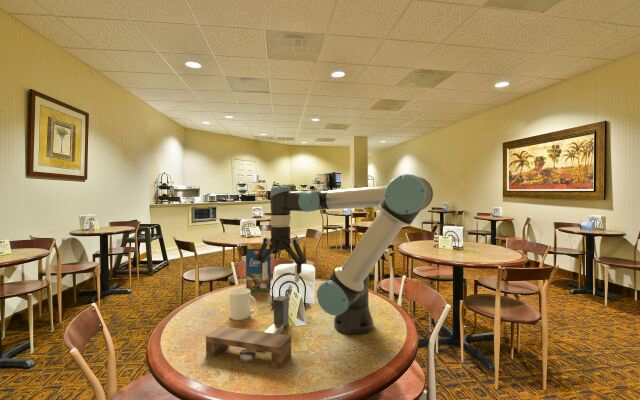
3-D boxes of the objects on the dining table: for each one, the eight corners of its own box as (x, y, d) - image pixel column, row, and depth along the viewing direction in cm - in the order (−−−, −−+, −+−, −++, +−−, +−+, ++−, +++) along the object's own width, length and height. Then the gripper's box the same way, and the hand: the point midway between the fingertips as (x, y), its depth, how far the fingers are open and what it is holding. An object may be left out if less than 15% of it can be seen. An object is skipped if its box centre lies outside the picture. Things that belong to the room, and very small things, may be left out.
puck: (259, 356, 97) (259, 349, 97) (251, 365, 92) (251, 357, 92) (245, 354, 99) (245, 347, 99) (236, 362, 94) (236, 354, 94)
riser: (291, 355, 98) (291, 335, 98) (280, 368, 90) (280, 347, 90) (221, 343, 105) (221, 326, 105) (206, 355, 98) (205, 336, 98)
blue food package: (268, 291, 162) (268, 244, 162) (246, 291, 163) (245, 244, 162) (270, 288, 169) (270, 242, 168) (249, 288, 169) (248, 242, 169)
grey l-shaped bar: (279, 323, 122) (279, 295, 122) (288, 324, 121) (288, 296, 121) (252, 348, 102) (252, 315, 102) (263, 349, 101) (263, 316, 101)
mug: (251, 322, 123) (251, 296, 123) (225, 319, 126) (225, 293, 126) (261, 314, 131) (261, 289, 131) (236, 311, 134) (236, 287, 134)
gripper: (314, 225, 119) (314, 280, 119) (256, 224, 126) (256, 275, 126) (307, 227, 112) (307, 285, 112) (247, 225, 119) (247, 280, 119)
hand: (280, 280), depth 119 cm, fingers open, 13 cm apart
